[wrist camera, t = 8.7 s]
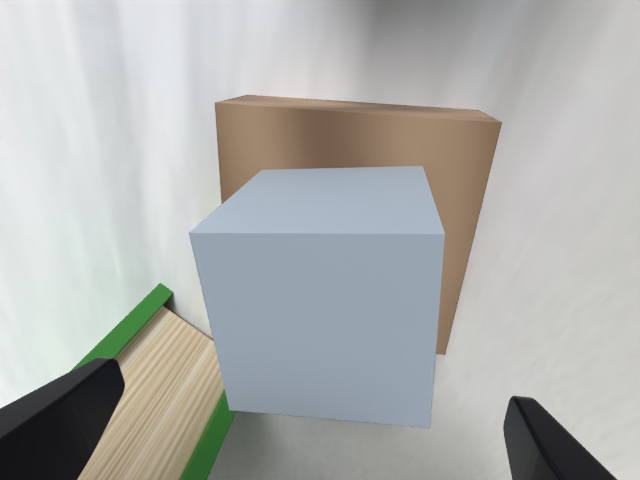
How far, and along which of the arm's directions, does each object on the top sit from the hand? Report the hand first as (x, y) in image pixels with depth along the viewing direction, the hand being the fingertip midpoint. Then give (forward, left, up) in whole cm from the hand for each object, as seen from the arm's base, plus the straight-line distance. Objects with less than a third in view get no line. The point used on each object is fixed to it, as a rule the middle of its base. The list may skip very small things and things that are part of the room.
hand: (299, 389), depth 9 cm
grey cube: (0, 0, -8) cm, 8 cm away
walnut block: (0, 0, -12) cm, 12 cm away
